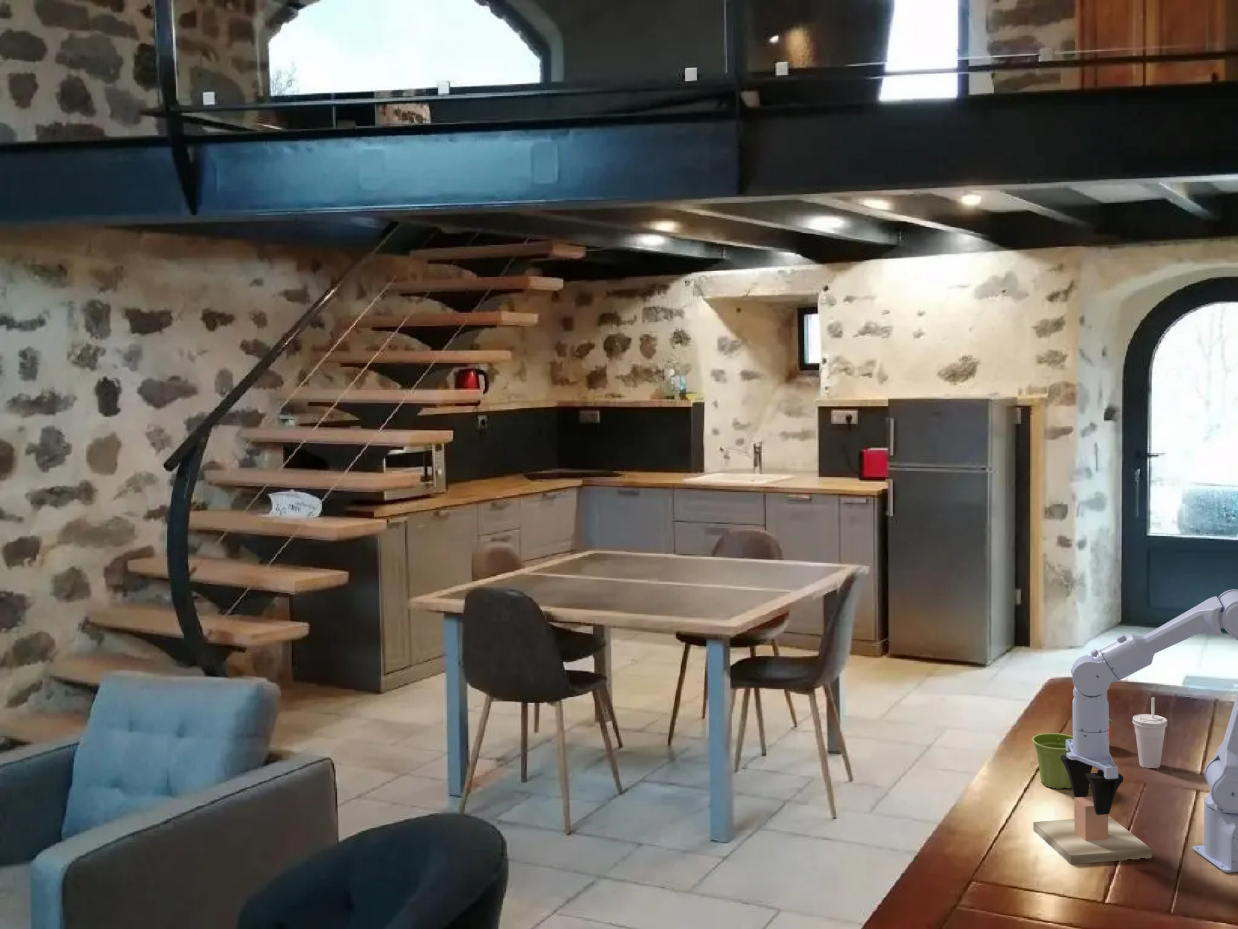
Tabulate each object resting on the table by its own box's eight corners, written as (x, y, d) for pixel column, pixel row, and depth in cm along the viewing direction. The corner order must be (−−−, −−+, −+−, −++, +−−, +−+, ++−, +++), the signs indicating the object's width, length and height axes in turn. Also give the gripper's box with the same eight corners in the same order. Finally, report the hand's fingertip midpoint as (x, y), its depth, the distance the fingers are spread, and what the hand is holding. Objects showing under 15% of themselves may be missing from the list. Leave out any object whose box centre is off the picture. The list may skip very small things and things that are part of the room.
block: (1108, 839, 198) (1108, 805, 198) (1085, 840, 198) (1085, 806, 198) (1096, 829, 202) (1096, 796, 202) (1074, 831, 202) (1074, 797, 202)
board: (1152, 858, 194) (1152, 849, 194) (1070, 864, 193) (1070, 855, 193) (1109, 824, 208) (1109, 816, 208) (1033, 830, 207) (1033, 822, 207)
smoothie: (1170, 771, 232) (1171, 702, 230) (1136, 770, 233) (1136, 702, 232) (1162, 760, 238) (1163, 693, 237) (1129, 759, 239) (1129, 692, 238)
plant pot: (1042, 772, 234) (1042, 729, 234) (1090, 781, 228) (1090, 738, 228) (1025, 786, 227) (1024, 743, 226) (1074, 796, 221) (1074, 752, 220)
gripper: (1048, 716, 205) (1049, 791, 207) (1088, 743, 191) (1089, 823, 192) (1087, 713, 206) (1087, 788, 207) (1130, 740, 192) (1130, 820, 193)
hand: (1091, 805), depth 200 cm, fingers open, 7 cm apart
